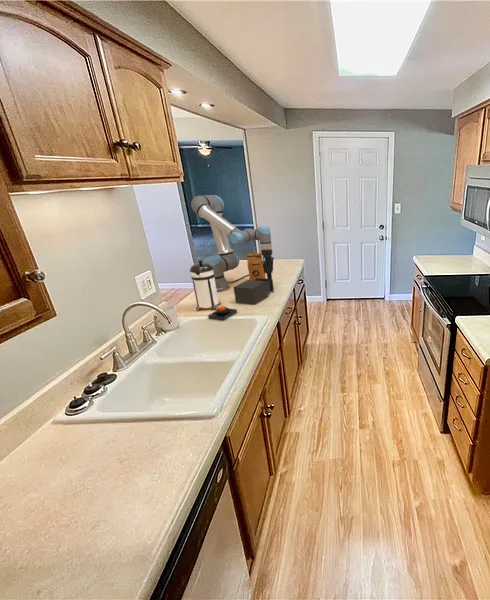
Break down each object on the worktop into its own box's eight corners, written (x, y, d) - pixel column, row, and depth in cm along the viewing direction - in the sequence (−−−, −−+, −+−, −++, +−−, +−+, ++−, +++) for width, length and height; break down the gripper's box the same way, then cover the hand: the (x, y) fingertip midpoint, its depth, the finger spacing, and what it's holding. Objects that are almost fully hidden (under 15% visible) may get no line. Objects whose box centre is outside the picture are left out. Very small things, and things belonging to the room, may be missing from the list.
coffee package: (264, 282, 251) (261, 254, 244) (248, 283, 250) (244, 254, 243) (267, 278, 261) (264, 251, 253) (251, 279, 260) (247, 252, 252)
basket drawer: (261, 287, 236) (259, 276, 233) (277, 289, 233) (275, 277, 230) (245, 296, 219) (243, 283, 216) (262, 298, 216) (260, 285, 213)
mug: (173, 331, 171) (169, 311, 168) (156, 331, 172) (151, 311, 168) (185, 322, 183) (181, 303, 179) (169, 322, 183) (165, 303, 179)
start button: (221, 308, 192) (221, 305, 192) (227, 309, 191) (226, 306, 191) (216, 310, 188) (216, 308, 188) (222, 311, 188) (222, 308, 187)
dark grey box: (250, 294, 225) (248, 279, 221) (268, 296, 222) (266, 281, 218) (235, 302, 211) (233, 286, 207) (254, 304, 207) (252, 288, 204)
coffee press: (227, 306, 204) (220, 259, 194) (201, 314, 193) (191, 264, 183) (215, 300, 216) (207, 255, 205) (190, 306, 205) (180, 259, 194)
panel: (222, 311, 198) (221, 304, 196) (236, 312, 195) (236, 306, 194) (208, 318, 187) (207, 312, 185) (223, 320, 184) (222, 314, 183)
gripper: (266, 251, 220) (270, 284, 229) (276, 247, 232) (279, 279, 240) (256, 250, 222) (260, 284, 230) (266, 247, 234) (270, 278, 242)
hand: (270, 281), depth 235 cm, fingers closed
